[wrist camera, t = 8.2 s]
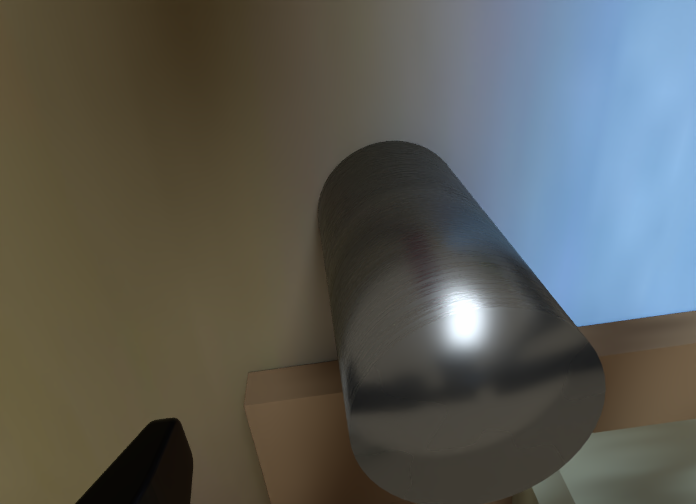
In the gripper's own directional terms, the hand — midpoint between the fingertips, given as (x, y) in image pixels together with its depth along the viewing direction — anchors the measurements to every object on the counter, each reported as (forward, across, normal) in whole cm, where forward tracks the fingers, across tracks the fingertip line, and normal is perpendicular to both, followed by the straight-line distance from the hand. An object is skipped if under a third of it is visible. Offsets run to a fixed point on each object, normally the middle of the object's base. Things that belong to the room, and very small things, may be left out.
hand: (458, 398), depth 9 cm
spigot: (+8, 0, 0) cm, 8 cm away
